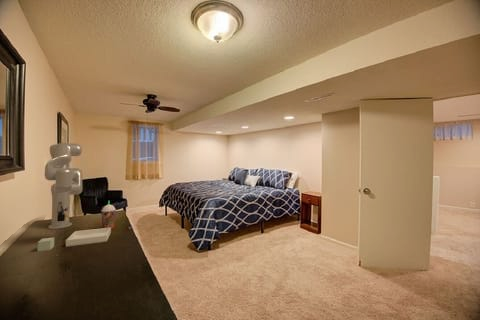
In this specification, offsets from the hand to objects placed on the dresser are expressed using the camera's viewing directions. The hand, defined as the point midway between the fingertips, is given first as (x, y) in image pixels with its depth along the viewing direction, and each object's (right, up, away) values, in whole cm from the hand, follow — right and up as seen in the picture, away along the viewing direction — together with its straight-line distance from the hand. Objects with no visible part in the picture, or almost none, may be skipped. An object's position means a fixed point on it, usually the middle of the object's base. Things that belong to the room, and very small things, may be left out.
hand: (62, 219), depth 121 cm
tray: (+16, -12, 0) cm, 20 cm away
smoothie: (+16, -13, +18) cm, 27 cm away
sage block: (+3, -12, -14) cm, 18 cm away
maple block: (0, -1, 0) cm, 1 cm away
